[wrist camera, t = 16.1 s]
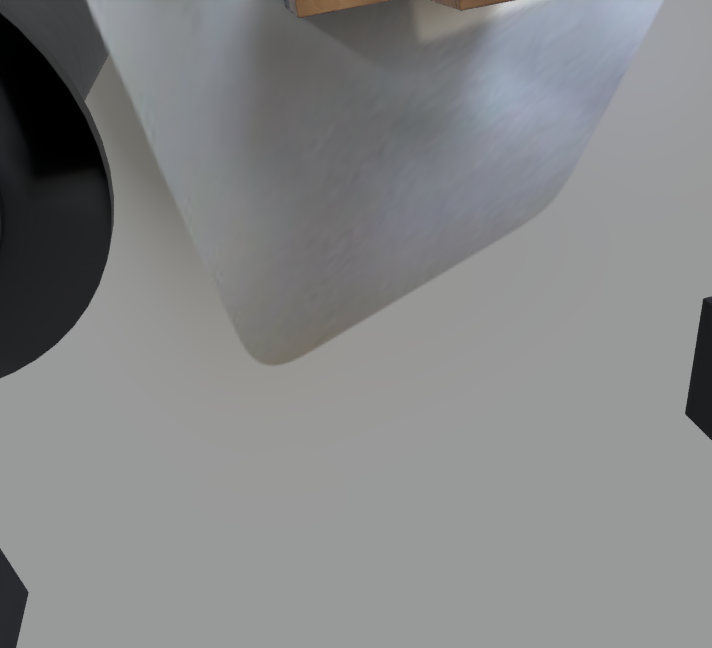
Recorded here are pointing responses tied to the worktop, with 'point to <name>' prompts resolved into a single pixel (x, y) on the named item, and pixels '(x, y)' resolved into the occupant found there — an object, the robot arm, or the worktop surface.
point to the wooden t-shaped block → (309, 3)
